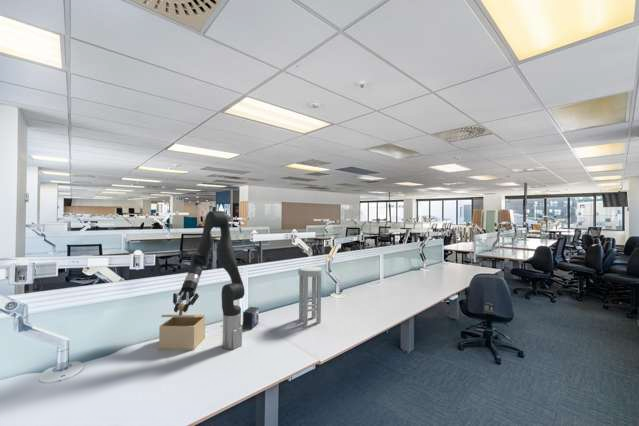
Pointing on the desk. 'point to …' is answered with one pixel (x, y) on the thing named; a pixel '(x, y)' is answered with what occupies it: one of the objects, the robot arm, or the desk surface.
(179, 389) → the desk surface
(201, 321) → the carton
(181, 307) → the lid flap
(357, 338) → the desk surface
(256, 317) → the small box
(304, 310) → the stool
